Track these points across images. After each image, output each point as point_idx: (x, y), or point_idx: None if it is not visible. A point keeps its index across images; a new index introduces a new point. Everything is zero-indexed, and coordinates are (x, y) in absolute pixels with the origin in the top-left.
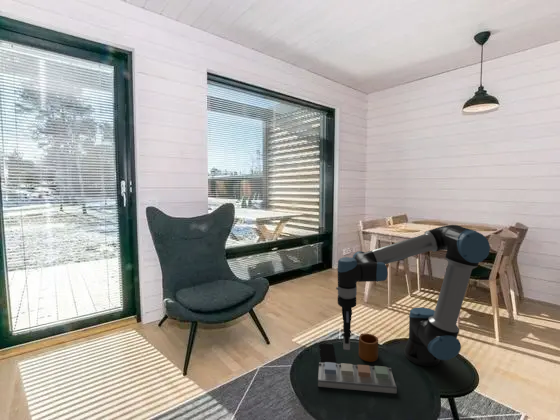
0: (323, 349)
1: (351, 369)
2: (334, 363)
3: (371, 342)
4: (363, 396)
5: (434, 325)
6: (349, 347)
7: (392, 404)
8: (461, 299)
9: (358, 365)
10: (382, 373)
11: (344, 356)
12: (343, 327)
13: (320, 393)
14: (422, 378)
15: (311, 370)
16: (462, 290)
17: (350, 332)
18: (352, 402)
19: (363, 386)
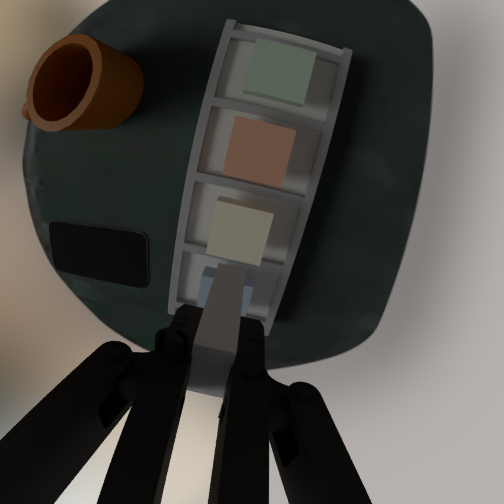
0: (77, 262)
1: (257, 217)
2: (205, 281)
3: (64, 69)
4: (344, 184)
5: None
6: (242, 282)
7: (392, 101)
8: None
9: (230, 171)
10: (307, 75)
11: (106, 190)
12: (129, 401)
13: (301, 320)
14: None
15: None
16: None
17: (190, 348)
18: (362, 233)
19: (320, 175)
